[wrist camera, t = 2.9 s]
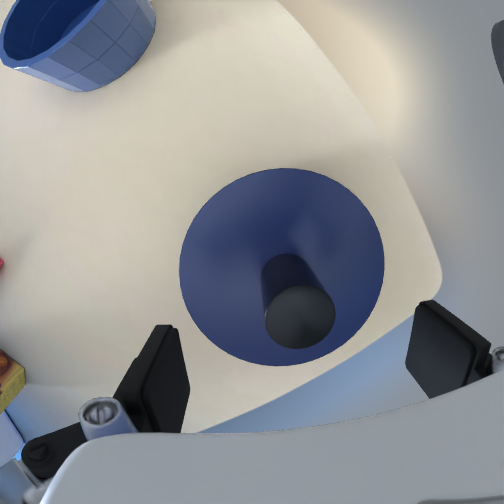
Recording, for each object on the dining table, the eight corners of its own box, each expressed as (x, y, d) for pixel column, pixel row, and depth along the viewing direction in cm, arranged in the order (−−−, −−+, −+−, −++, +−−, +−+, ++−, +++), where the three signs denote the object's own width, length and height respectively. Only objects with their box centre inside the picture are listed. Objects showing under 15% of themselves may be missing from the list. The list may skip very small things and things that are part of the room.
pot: (159, -18, 19) (132, -70, 9) (153, 74, 22) (110, 31, 12) (61, 16, 19) (17, -15, 10) (48, 106, 22) (-13, 90, 12)
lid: (378, 167, 17) (435, 166, 11) (369, 347, 20) (404, 400, 14) (172, 177, 17) (131, 177, 11) (197, 361, 21) (180, 424, 14)
